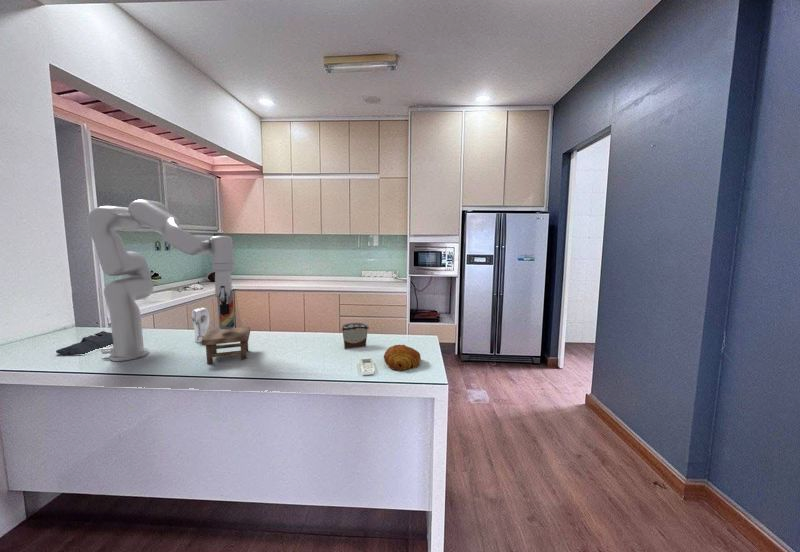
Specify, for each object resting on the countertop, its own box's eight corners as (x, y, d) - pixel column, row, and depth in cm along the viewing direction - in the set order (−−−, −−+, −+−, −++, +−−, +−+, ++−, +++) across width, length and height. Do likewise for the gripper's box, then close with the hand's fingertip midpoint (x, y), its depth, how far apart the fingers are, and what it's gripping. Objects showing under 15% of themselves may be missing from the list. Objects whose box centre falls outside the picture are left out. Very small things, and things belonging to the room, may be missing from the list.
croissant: (381, 376, 125) (381, 356, 123) (386, 355, 140) (385, 337, 138) (420, 376, 124) (420, 357, 122) (421, 355, 139) (420, 337, 137)
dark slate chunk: (47, 357, 137) (46, 346, 136) (94, 340, 159) (93, 330, 158) (86, 357, 137) (85, 345, 137) (128, 339, 159) (127, 330, 159)
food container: (366, 342, 156) (365, 321, 155) (369, 346, 150) (369, 324, 149) (339, 345, 152) (339, 323, 151) (341, 349, 146) (341, 327, 145)
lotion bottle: (233, 329, 134) (230, 279, 131) (217, 330, 132) (214, 279, 129) (236, 325, 139) (233, 277, 136) (220, 326, 137) (217, 277, 135)
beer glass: (214, 338, 160) (212, 307, 158) (204, 343, 153) (202, 311, 151) (200, 338, 161) (198, 307, 159) (190, 342, 154) (187, 310, 152)
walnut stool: (203, 365, 128) (201, 340, 126) (209, 353, 141) (207, 330, 139) (249, 360, 133) (247, 336, 132) (251, 349, 146) (250, 326, 145)
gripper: (215, 265, 139) (218, 308, 141) (208, 270, 123) (211, 318, 125) (235, 265, 142) (238, 307, 144) (231, 269, 126) (234, 316, 128)
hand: (226, 311), depth 135 cm, fingers closed on lotion bottle, 5 cm apart
